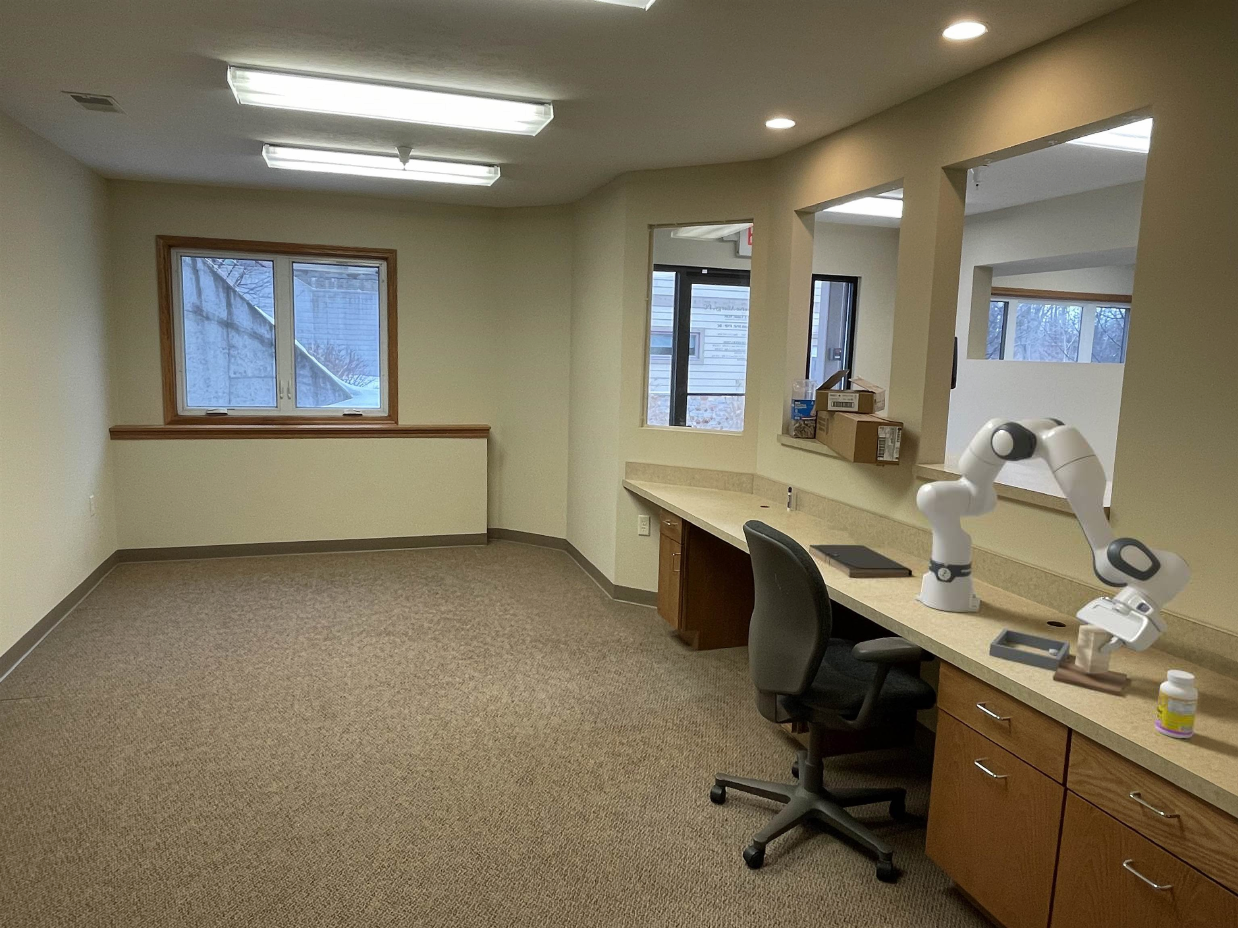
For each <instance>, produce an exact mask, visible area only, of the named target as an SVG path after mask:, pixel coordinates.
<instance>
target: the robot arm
mask: <svg viewBox="0 0 1238 928" xmlns="http://www.w3.org/2000/svg"><path fill="white" fill-rule="evenodd" d="M1036 459H1042V460H1044V462H1046V464H1047V467H1049V470H1050V471H1051V473H1052V475H1053V478H1054V479H1055V481H1056V483H1057V484H1058V486H1059V488H1060V490H1061V491H1062V493H1063V495H1064V496H1065V498H1066V500H1067V502H1068V503H1069V506H1070V507H1071V509H1072V511H1073V513H1074V514H1075V515H1074V516H1076V519H1077V521H1078V524H1079V526H1080V528H1081V530H1082V532H1083V535H1084V536H1085V539H1086V541H1087V543H1088V546H1089V548H1090V551H1091V554H1092V568H1093V571H1094V574H1095V576H1096V578H1097V580H1099V582H1101V583H1103V584H1104V585H1106V586H1109V587H1110V588H1111V587H1112V588H1116V589H1117V588H1123V589H1122V590H1120V592H1118V593H1117V594H1116V595H1115V596H1114V597H1113V598H1111V597H1109V596H1107V595H1105V596H1101V597H1098V598H1095V599H1093V600H1092V601H1090V602H1089V603H1087V604H1086V605H1085V606H1083V607H1082V608H1081V609H1079V610H1078V611H1077V613H1076V615H1075V616H1076V617H1075V618H1076V619H1077V620H1078V621H1079V622H1080V625H1096V626H1098V627H1100V628H1102V629H1104V630H1106V631H1108V632H1110V634H1111V635H1113V638H1112V639H1111V640H1112V641H1111V642H1109V643H1107V644H1103V643H1102V644H1101V645H1100V646H1099V647H1098V650H1099V651H1100V652H1101V653H1103V654H1104V655H1107V654H1108V653H1109V652H1110V651H1111V652H1112V651H1114V650H1118V649H1120V648H1121V647H1123V646H1125V647H1127V648H1130V649H1132V650H1133V651H1135V652H1138V653H1139V652H1144V651H1146V650H1147V649H1148V648H1149V647H1151V646H1152V645H1153V644H1154V643H1155V642H1156V641H1157V640H1158V639H1159V637H1160V634H1161V633H1164V632H1166V631H1167V630H1168V625H1167V624H1166V623H1165V621H1164V620H1163V618H1162V617H1161V616H1160V615H1159V613H1161V611H1162V609H1163V607H1164V606H1165V605H1167V603H1170V602H1171V601H1173V600H1174V599H1175V598H1176V597H1178V595H1180V593H1182V591H1183V590H1184V589H1186V587H1187V585H1188V584H1189V582H1190V581H1191V579H1192V577H1193V576H1192V570H1191V567H1190V566H1189V564H1188V563H1187V561H1186V560H1185V559H1184V558H1183V557H1182V556H1180V555H1179V554H1177V553H1176V552H1174V551H1170V550H1160V549H1159V548H1158V549H1157V548H1154V547H1151V546H1149V545H1147V544H1145V543H1143V542H1141V541H1140V540H1138V539H1137V538H1133V537H1120V538H1117V537H1116V534H1115V533H1114V531H1113V528H1112V526H1111V525H1110V522H1109V520H1108V519H1107V516H1106V514H1105V509H1104V499H1105V492H1106V487H1107V482H1108V481H1107V477H1106V473H1105V471H1104V467H1103V465H1102V463H1101V461H1100V459H1099V458H1098V456H1097V454H1096V452H1095V451H1094V449H1093V448H1092V447H1091V445H1090V443H1089V441H1087V439H1086V438H1085V437H1084V435H1083V434H1082V433H1081V432H1080V431H1079V430H1078V429H1077V428H1076V427H1075V426H1073V425H1067V424H1065V423H1064V422H1063V421H1061V420H1059V419H1057V418H1054V417H1053V418H1052V417H1042V418H1040V417H1039V418H1026V419H1022V420H1017V421H1011V420H1009V419H1006V418H1003V417H995V418H991V419H990V420H988V421H987V422H986V423H985V424H984V425H983V426H982V427H981V428H980V429H979V430H978V432H976V434H975V435H974V437H973V438H972V440H971V441H970V443H969V444H968V446H967V447H966V449H965V450H964V452H963V454H962V455H961V456H960V458H959V460H958V463H957V465H958V470H959V474H961V476H962V477H961V478H959V479H958V480H957V479H956V480H936V481H932V482H929V483H926V484H923V485H922V486H920V487H919V489H918V491H917V494H916V505H917V508H918V510H920V512H921V513H922V515H924V516H925V517H926V518H927V520H928V522H929V524H930V528H931V531H932V549H931V550H932V551H931V557H930V558H929V562H928V570H929V571H927V572H926V573H925V574H923V576H922V577H923V578H922V584H921V590H920V593H919V594H916V595H915V600H917V601H919V602H921V603H922V604H923V605H924V606H927V607H929V608H933V609H936V610H940V611H945V612H958V613H962V612H971V613H972V612H974V613H976V612H977V613H978V612H980V606H981V596H978V595H976V594H975V593H974V592H975V590H974V589H975V581H974V579H973V577H972V575H971V574H972V569H973V568H972V567H973V566H972V565H973V561H972V560H971V557H972V556H971V555H972V549H973V548H972V546H973V538H972V536H971V535H970V533H968V532H967V531H966V530H964V529H963V528H962V526H961V525H962V524H961V518H963V517H964V518H965V517H966V518H968V517H969V518H970V517H980V516H983V515H988V514H990V513H992V512H993V511H995V508H996V506H997V504H998V494H997V491H996V489H995V488H994V486H993V485H994V482H995V481H996V479H997V476H998V475H999V473H1001V470H1002V469H1003V467H1005V465H1006V464H1007V462H1019V461H1020V462H1021V461H1029V460H1030V461H1031V460H1036Z"/></svg>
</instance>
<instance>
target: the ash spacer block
mask: <svg viewBox="0 0 1238 928" xmlns="http://www.w3.org/2000/svg"><path fill="white" fill-rule="evenodd" d="M1078 629H1079V630H1078V637H1077V638H1078V639H1077V645H1076V646H1077V647H1076V653H1075V655H1076V656H1075V661H1074V662H1075V665H1077V666H1078V667H1080V668H1082V669H1084V670H1085V671H1087V672H1089V673H1096V672H1108V670H1110V662H1111V660H1110V659H1111V653H1112V651H1110V652H1109V653H1108V654H1107V655H1104V654H1103V653H1101V652H1100V651H1099V650H1098V647H1099V646H1100V645H1101V644H1102V643H1103V644H1107V643H1109V642H1111V641H1112V640H1111V639H1112V638H1113V635H1111V634H1110V632H1108V631H1106V630H1104V629H1102V628H1100V627H1098V626H1096V625H1082V624H1079V628H1078Z"/></svg>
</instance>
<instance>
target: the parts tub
mask: <svg viewBox="0 0 1238 928" xmlns="http://www.w3.org/2000/svg"><path fill="white" fill-rule="evenodd" d="M1006 642H1010V643H1013V642H1014V644H1018V645H1022V644H1023V645H1022V646H1026V647H1031V648H1035V649H1040V650H1043V651H1048V654H1049V655H1050V656H1049V655H1046V654H1042V653H1041V654H1040V653H1035V652H1032V651H1027V650H1023V649H1020V648H1015V647H1012V646H1011V647H1010V646H1006V645H1005V644H1006ZM989 645H990V646H989V656H991V657H996V658H1000V659H1004V660H1007V661H1013V662H1017V663H1021V664H1025V665H1029V666H1033V667H1038V668H1041V669H1046V670H1051V671H1055V672H1056V671H1057V669H1058V668H1059V666H1060V664H1061V663H1062V661H1063V660H1066V659H1067V658H1068V655H1070V646H1071V642H1067V641H1063V640H1060V639H1059V640H1058V639H1053V638H1048V637H1044V636H1040V635H1035V634H1031V633H1025V632H1021V631H1017V630H1013V629H1008V628H1003V630H1002V631H1001V632H1000V633H999V634H998V635H997V636H996V638H995V639H993V640H992V641H991V643H990V644H989ZM1002 645H1003V646H1002ZM1053 656H1055V657H1053Z"/></svg>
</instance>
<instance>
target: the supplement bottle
mask: <svg viewBox="0 0 1238 928" xmlns="http://www.w3.org/2000/svg"><path fill="white" fill-rule="evenodd" d="M1166 677H1167V680H1165V681H1164V682H1162V683H1161V684H1160V686H1159V692H1158V699H1157V707H1156V714H1155V720H1154V721H1155V722H1154V727H1155V729H1156V730H1157V731H1158V732H1160V733H1161V734H1163V735H1166V736H1168V737H1171V738H1175V739H1181V738H1186V739H1189V738H1191V737H1192V736H1193V734H1194V727H1195V720H1196V715H1197V714H1196V713H1197V706H1198V698H1199V692H1198V689H1196V688H1195V687H1194V686H1193V685H1194V683H1195V675H1193V674H1192V673H1189V672H1188V671H1184V670H1178V669H1170V670H1167V675H1166Z"/></svg>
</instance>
